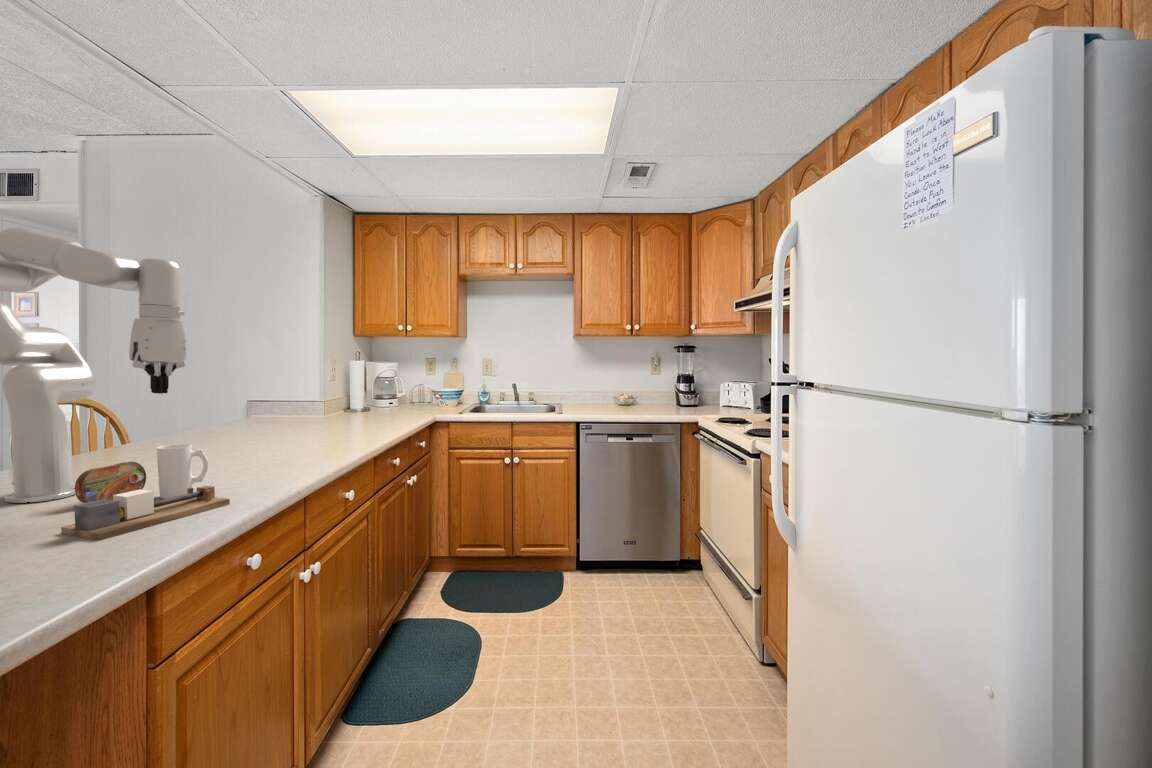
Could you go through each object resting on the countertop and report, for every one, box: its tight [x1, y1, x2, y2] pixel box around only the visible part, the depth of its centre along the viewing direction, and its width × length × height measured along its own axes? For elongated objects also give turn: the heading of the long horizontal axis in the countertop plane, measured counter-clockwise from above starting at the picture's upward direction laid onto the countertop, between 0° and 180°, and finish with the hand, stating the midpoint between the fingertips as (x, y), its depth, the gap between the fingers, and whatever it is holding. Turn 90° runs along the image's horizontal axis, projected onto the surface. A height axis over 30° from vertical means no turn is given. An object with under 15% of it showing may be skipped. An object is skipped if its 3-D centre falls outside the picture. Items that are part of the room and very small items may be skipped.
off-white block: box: [113, 489, 155, 520], centre depth 112 cm, size 4×5×4 cm
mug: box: [156, 443, 209, 500], centre depth 134 cm, size 10×7×12 cm, turn 118°
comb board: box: [60, 485, 231, 541], centre depth 116 cm, size 11×26×6 cm, turn 161°
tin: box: [74, 461, 147, 504], centre depth 129 cm, size 15×3×8 cm, turn 170°
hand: (159, 392), depth 129 cm, fingers closed
